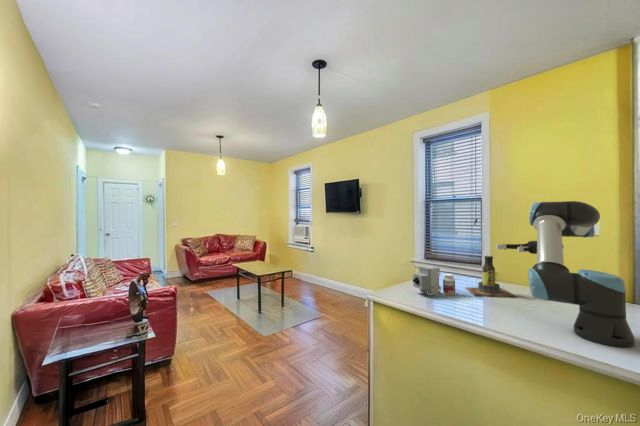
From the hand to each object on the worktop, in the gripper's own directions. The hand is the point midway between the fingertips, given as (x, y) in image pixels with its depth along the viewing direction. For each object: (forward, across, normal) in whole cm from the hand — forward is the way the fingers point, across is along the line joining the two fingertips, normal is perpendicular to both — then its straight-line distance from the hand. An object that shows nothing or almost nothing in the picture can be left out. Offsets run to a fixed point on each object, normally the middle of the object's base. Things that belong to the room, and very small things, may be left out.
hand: (506, 248), depth 152 cm
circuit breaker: (+44, +12, -26) cm, 53 cm away
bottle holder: (+10, +3, -25) cm, 27 cm away
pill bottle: (+32, +8, -26) cm, 42 cm away
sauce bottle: (+10, +3, -24) cm, 27 cm away
